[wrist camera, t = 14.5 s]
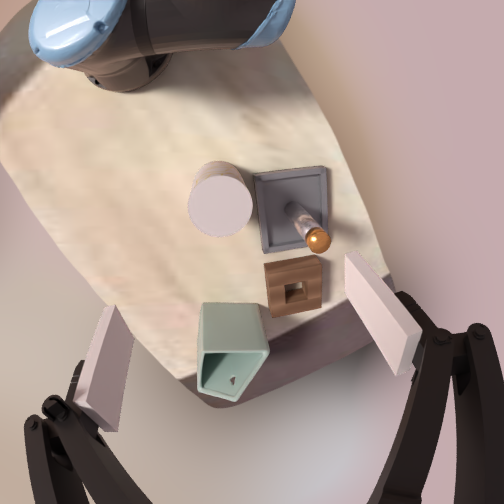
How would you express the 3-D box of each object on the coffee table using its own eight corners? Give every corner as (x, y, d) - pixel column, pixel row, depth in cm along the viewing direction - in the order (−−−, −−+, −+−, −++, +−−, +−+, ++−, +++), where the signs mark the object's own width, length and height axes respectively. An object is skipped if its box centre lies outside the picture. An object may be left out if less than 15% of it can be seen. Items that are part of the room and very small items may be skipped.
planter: (234, 280, 55) (247, 356, 38) (258, 304, 59) (278, 380, 41) (173, 323, 58) (166, 400, 41) (199, 343, 62) (200, 418, 44)
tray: (253, 173, 47) (254, 175, 45) (322, 165, 48) (326, 167, 46) (262, 249, 53) (263, 253, 52) (324, 238, 54) (327, 242, 52)
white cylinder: (248, 167, 46) (260, 184, 36) (235, 213, 49) (242, 242, 39) (199, 155, 44) (196, 168, 34) (188, 202, 47) (182, 230, 37)
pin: (284, 218, 50) (309, 255, 38) (283, 202, 49) (309, 234, 37) (301, 216, 51) (330, 251, 38) (300, 199, 49) (330, 231, 37)
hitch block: (263, 263, 55) (267, 274, 51) (314, 254, 55) (321, 264, 52) (268, 305, 59) (272, 317, 56) (315, 296, 60) (321, 307, 56)
